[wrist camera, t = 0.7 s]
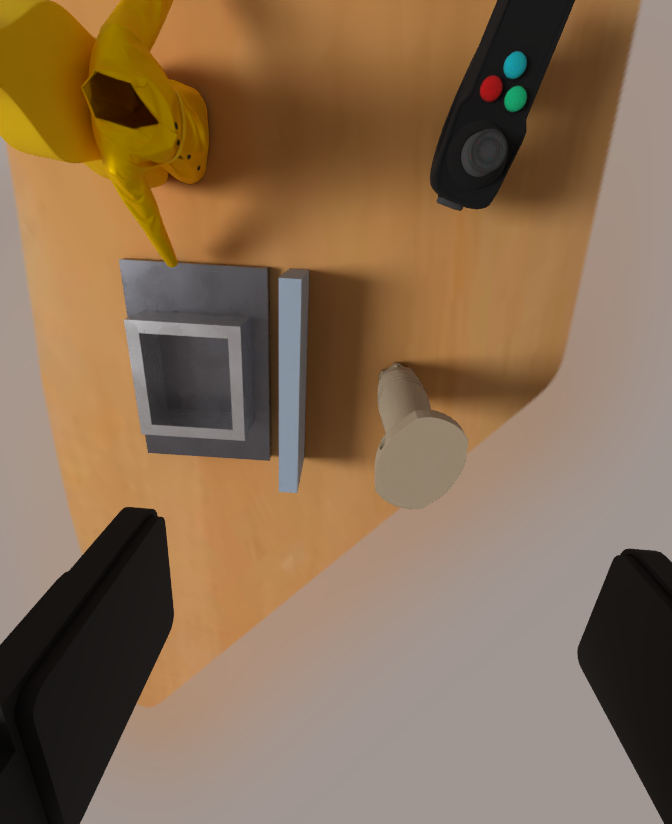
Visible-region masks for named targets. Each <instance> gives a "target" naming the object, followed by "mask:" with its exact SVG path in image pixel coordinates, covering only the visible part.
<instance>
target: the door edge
mask: <svg viewBox="0 0 672 824" xmlns="http://www.w3.org/2000/svg"><path fill="white" fill-rule="evenodd" d="M308 299H309V270H307V269H291V268H290V269H289V270H287V271H286V272H285V273H284V274H283V275H281V276H280V277H279V492H292V493H297V491H298V486H299V481H300V476H301V471H302V466H303V461H304V446H305V409H306V372H307V335H308Z"/></svg>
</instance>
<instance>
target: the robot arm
mask: <svg viewBox="0 0 672 824" xmlns="http://www.w3.org/2000/svg"><path fill="white" fill-rule="evenodd" d="M173 618H174V609H173V599H172V588H171V578H170V567H169V557H168V546H167V536H166V526H165V520H164V518H163V517H158V516H157V512H156V511H155V510H154V509H146V508H134V507H125V508H123V509H122V510H121V511H120V512H119V514H118V515H117V516H116V517H115V518H114V519H113V520H112V522H111V523H110V524H109V525H108V526H107V527H106V529H105V530H104V531H103V532H102V533H101V534H100V536H99V537H98V538H97V539H96V540H95V541H94V543H93V544H92V545H91V546H90V547H89V548H88V549H87V551H86V552H85V553H84V554H83V555H82V556H81V558H80V559H79V560H78V561H77V562H76V563H75V565H74V566H73V567H72V568H71V569H70V570H69V571H68V572H66V573H64V574H63V575H62V576H61V577H60V578H59V579H57V581H56V582H55V583H54V584H53V585H52V586H51V587H50V589H49V590H48V591H47V592H46V593H45V594H44V595H43V597H42V598H41V599H40V600H39V601H38V602H37V603H36V605H35V606H34V607H33V608H32V609H31V610H30V611H29V613H28V614H27V615H26V616H25V617H24V619H23V620H22V621H21V622H20V623H19V624H18V626H16V628H15V629H14V630H13V631H12V632H11V633H10V634H9V636H8V637H7V638H6V639H5V640H4V642H2V644H1V645H0V824H80V822H81V820H82V818H83V816H84V814H85V812H86V810H87V808H88V805H89V803H90V801H91V799H92V797H93V795H94V793H95V791H96V788H97V786H98V784H99V782H100V780H101V778H102V776H103V774H104V771H105V769H106V767H107V765H108V763H109V761H110V759H111V756H112V754H113V752H114V750H115V748H116V746H117V744H118V741H119V739H120V737H121V735H122V733H123V731H124V729H125V726H126V724H127V722H128V720H129V718H130V716H131V714H132V712H133V709H134V707H135V705H136V703H137V701H138V699H139V697H140V695H141V692H142V690H143V688H144V686H145V684H146V682H147V680H148V678H149V675H150V673H151V671H152V669H153V667H154V665H155V663H156V661H157V658H158V656H159V654H160V652H161V650H162V648H163V646H164V643H165V641H166V639H167V637H168V635H169V633H170V630H171V627H172V624H173ZM578 660H579V664H580V666H581V668H582V670H583V672H584V674H585V676H586V678H587V680H588V682H589V683H590V685H591V687H592V689H593V691H594V693H595V695H596V697H597V699H598V700H599V702H600V704H601V706H602V708H603V710H604V712H605V714H606V715H607V717H608V719H609V721H610V723H611V725H612V726H613V728H614V730H615V732H616V734H617V736H618V738H619V740H620V742H621V744H622V745H623V747H624V749H625V751H626V753H627V755H628V757H629V759H630V760H631V762H632V764H633V766H634V768H635V770H636V772H637V773H638V775H639V777H640V779H641V781H642V783H643V785H644V787H645V788H646V790H647V792H648V794H649V796H650V798H651V800H652V801H653V803H654V805H655V807H656V809H657V811H658V813H659V815H660V816H661V818H662V820H663V822H664V824H672V562H671V561H670V560H669V559H668V558H667V557H666V556H665V555H663V554H662V553H661V552H657V551H651V550H639V549H625V550H624V551H623V552H622V553H621V555H618V556H616V557H615V558H614V559H613V561H612V564H611V566H610V569H609V571H608V574H607V576H606V579H605V581H604V584H603V586H602V589H601V591H600V594H599V596H598V599H597V601H596V604H595V606H594V609H593V611H592V614H591V616H590V619H589V621H588V624H587V626H586V629H585V631H584V634H583V636H582V639H581V641H580V644H579V646H578Z"/></svg>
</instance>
